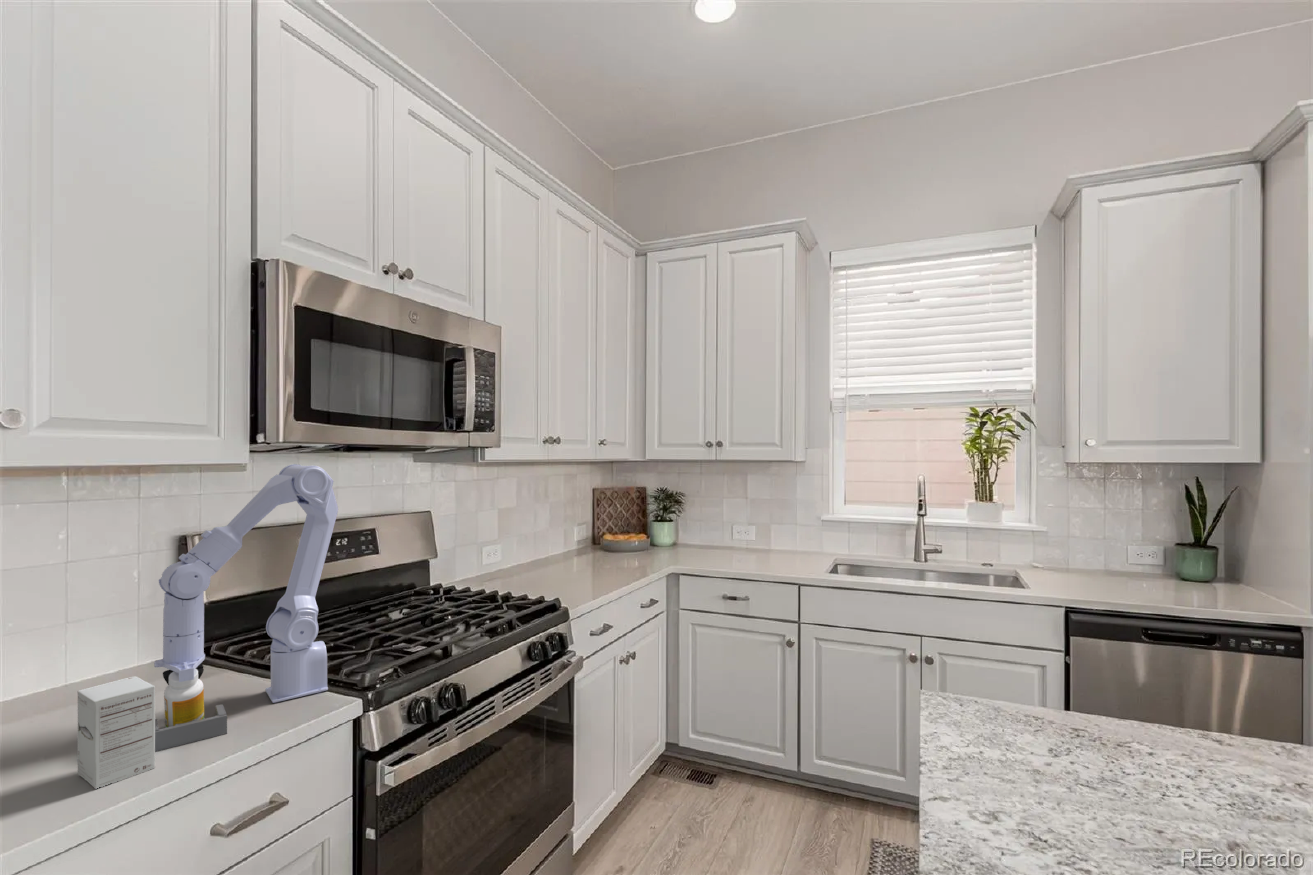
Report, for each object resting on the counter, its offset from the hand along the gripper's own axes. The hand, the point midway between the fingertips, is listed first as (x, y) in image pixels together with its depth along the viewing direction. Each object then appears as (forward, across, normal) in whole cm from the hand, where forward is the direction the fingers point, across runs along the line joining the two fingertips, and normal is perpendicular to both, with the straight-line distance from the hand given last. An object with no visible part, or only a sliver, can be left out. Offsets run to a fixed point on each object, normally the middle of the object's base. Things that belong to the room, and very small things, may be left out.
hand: (182, 710), depth 111 cm
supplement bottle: (+2, +2, 0) cm, 3 cm away
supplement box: (+2, +14, -9) cm, 17 cm away
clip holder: (+2, +7, 0) cm, 7 cm away
